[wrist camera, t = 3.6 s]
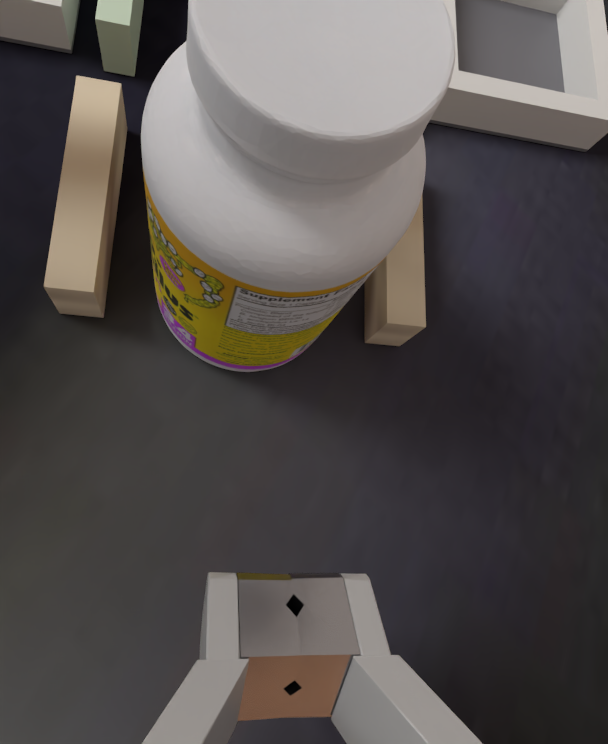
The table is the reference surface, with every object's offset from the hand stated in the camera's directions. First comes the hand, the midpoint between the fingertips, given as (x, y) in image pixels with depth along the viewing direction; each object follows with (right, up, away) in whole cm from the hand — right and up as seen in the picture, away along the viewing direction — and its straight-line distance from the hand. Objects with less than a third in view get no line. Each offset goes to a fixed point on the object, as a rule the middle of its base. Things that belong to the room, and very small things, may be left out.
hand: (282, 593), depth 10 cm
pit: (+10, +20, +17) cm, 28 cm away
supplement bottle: (-2, +7, +11) cm, 14 cm away
